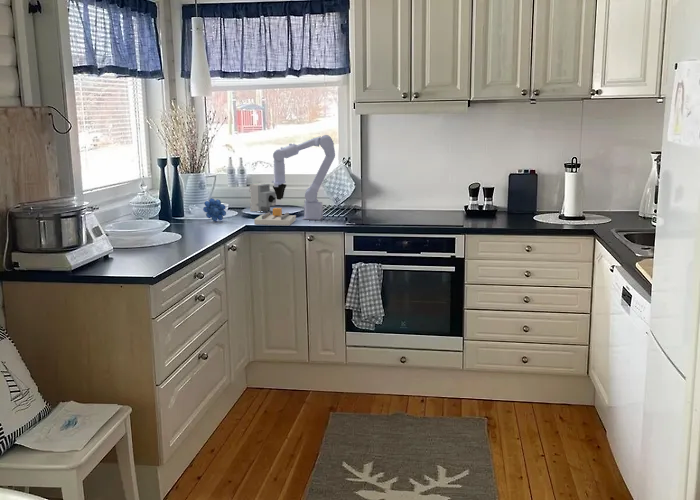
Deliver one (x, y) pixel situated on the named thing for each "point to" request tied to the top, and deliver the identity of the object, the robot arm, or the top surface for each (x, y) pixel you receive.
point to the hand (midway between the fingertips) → (280, 198)
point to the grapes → (214, 209)
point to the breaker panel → (275, 219)
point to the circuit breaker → (261, 197)
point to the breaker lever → (277, 211)
